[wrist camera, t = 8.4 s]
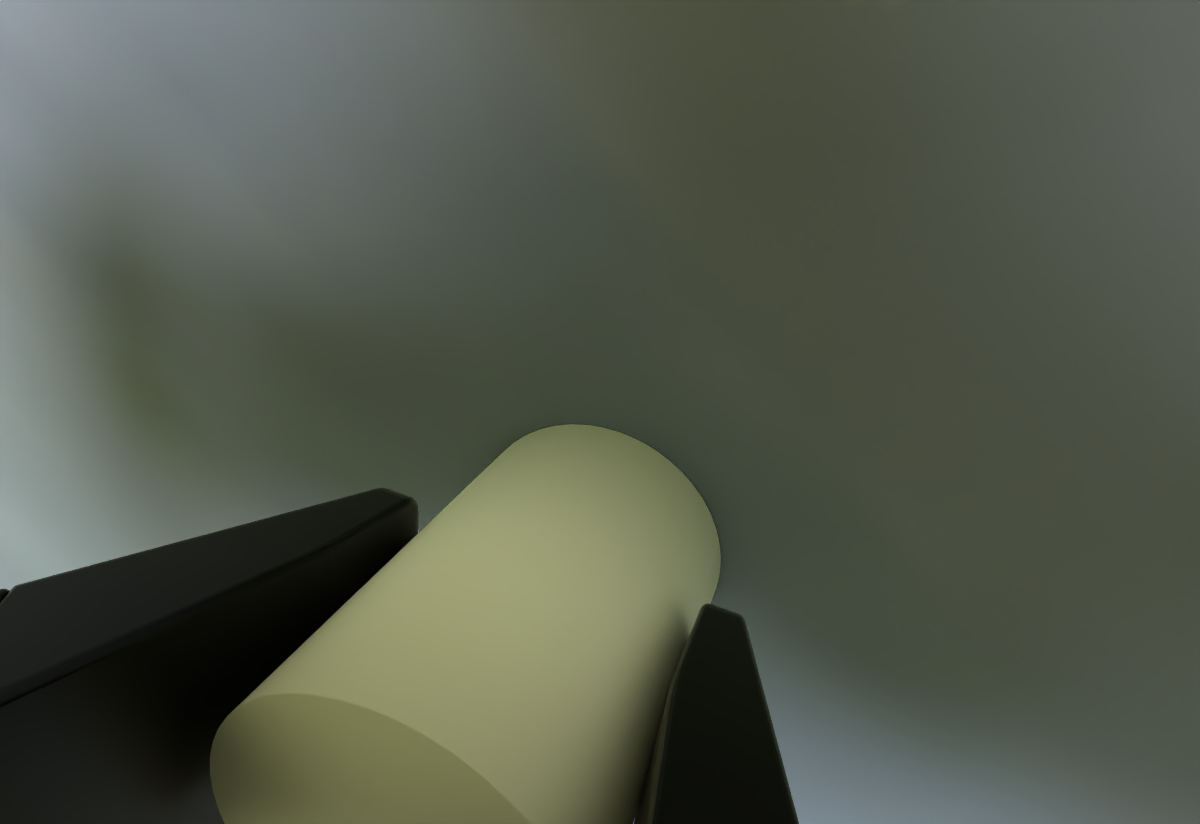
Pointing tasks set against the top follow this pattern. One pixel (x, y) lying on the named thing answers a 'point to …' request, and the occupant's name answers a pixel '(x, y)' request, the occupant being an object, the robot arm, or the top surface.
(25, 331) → the top surface
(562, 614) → the block
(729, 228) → the top surface
